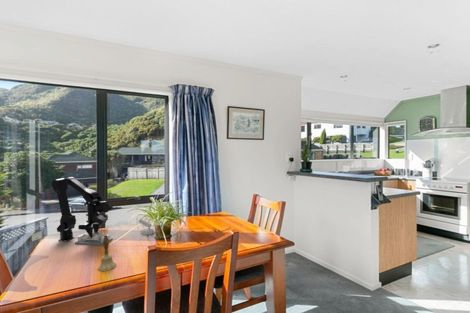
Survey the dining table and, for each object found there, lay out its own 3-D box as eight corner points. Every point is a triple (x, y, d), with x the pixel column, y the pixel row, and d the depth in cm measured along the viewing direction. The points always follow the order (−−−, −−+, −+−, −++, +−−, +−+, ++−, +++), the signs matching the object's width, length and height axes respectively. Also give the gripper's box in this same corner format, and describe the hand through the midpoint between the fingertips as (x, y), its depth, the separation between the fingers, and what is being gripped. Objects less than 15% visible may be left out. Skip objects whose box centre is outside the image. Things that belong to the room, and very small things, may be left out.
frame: (83, 238, 169) (83, 233, 169) (87, 236, 173) (87, 231, 173) (100, 239, 167) (100, 234, 167) (104, 237, 171) (104, 232, 171)
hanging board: (74, 243, 167) (74, 237, 167) (86, 238, 177) (86, 232, 176) (102, 245, 163) (101, 239, 163) (112, 239, 173) (112, 233, 173)
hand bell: (95, 267, 135) (93, 236, 134) (112, 262, 141) (111, 231, 140) (101, 273, 129) (99, 240, 128) (118, 267, 135) (117, 235, 134)
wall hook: (142, 216, 191) (155, 217, 189) (142, 230, 191) (155, 230, 189) (135, 220, 182) (149, 221, 180) (136, 234, 183) (149, 235, 181)
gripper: (93, 216, 158) (94, 242, 159) (113, 208, 177) (114, 231, 177) (77, 215, 160) (78, 241, 161) (98, 207, 179) (99, 231, 180)
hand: (93, 236), depth 170 cm, fingers closed on frame, 4 cm apart
